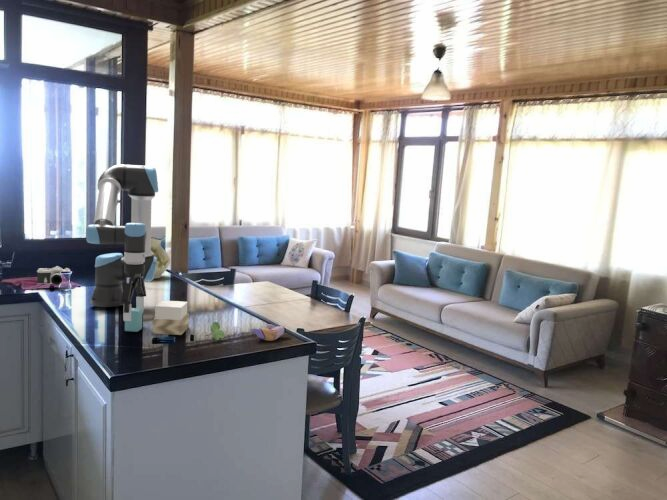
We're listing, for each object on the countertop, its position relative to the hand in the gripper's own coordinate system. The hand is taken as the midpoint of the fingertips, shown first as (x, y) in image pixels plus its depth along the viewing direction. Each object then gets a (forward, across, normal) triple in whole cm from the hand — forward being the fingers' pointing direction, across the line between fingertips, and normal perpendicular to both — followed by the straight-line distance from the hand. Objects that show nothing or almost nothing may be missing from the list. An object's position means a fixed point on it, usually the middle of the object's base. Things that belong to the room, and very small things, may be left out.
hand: (133, 316), depth 211 cm
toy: (+2, -6, -47) cm, 48 cm away
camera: (+4, +73, +68) cm, 100 cm away
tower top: (0, +2, -14) cm, 14 cm away
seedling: (+6, -3, -29) cm, 30 cm away
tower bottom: (+6, +2, -14) cm, 15 cm away
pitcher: (+4, +109, +30) cm, 113 cm away
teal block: (+5, 0, 0) cm, 5 cm away
